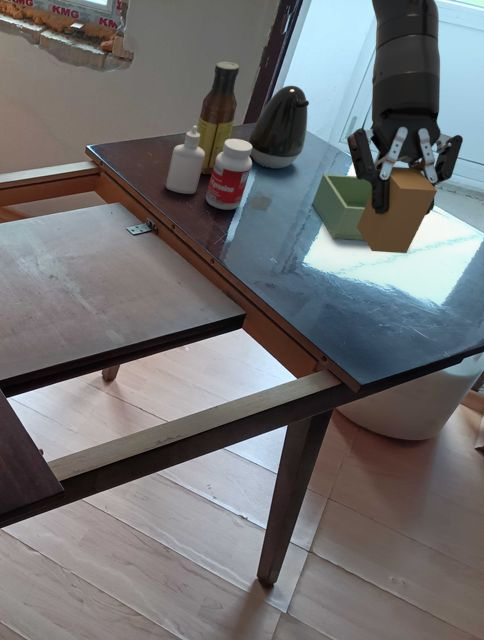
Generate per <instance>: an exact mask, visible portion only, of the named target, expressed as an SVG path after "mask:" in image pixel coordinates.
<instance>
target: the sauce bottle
mask: <svg viewBox="0 0 484 640" xmlns="http://www.w3.org/2000/svg"><path fill="white" fill-rule="evenodd" d="M239 72H240V65H239V64H238V63H235V62H232V61H219V62H217V63H216V64H215V68H214V78H213V83H212V86H211V89H210V91H209V92H208V93H207V94H206V96H205V97H204V98H203V100H202V106H201V111H200V114H199V119H198V124H197V133H199V134H200V139H199V143H198V147H200V148H201V149H203V150H204V152H205V157H204V161H203V165H202V170H201V173H205V174H212V172H213V168H214V164H215V160H216V157H217V156H218V154H219V153H221V152H223V146H224V143H225V141H226V140H228V139H231V135H232V131H233V125H234V122H235V114H236V110H237V106H238V102H237V99H236V95H235V92H234V90H235V83H236V80H237V76H238V75H239Z"/></svg>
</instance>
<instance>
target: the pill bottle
mask: <svg viewBox="0 0 484 640" xmlns="http://www.w3.org/2000/svg"><path fill="white" fill-rule="evenodd" d="M251 151H252V145H251V144H250V143H249V141H246V140H244V139H241V138H230V139H228V140H226V141H225V143H224V146H223V152H221V153H219V154H218V156H217V157H216V160H215V164H214V168H213V172H212V175H210V178H209V183H208V187H207V191H206V195H205V200H206V202H207V203H208V204H209V205H210V206H211V207H214V208H216V209H219V210H224V211H229V210H230V211H231V210H235V209H237V208H239V206H241V203H242V202H241V201H242V200H243V197H244V193H245V190H246V186H247V183H248V179H249V177H250V173H251V169H252V166H253V162H252V159H251V157H250V156H251Z"/></svg>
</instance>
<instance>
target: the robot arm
mask: <svg viewBox="0 0 484 640" xmlns="http://www.w3.org/2000/svg"><path fill="white" fill-rule="evenodd" d="M371 4H372V9H373V12H374V15H375V20H376V31H375V57H374V64H373V69H372V79H371V86H372V90H371V91H372V94H371V95H372V96H371V122H372V124H371V126H370V128H369V129H364V128H362V127H361V128H358V129H356V130H355V131H354V132H353V133H351V134H350V135H349V136H348V137H347V138H346V142H347V146H348V150H349V154H350V158H351V161H352V165H353V169H354V173H355V176H356V177H357V179H359V180H363V179H364V180H366V181H368V182H370V183H371V185H372V196H371V197H372V198H371V200H372V201H371V206H372V208H373V209H375V213H376V214H383V213H385V212H387V211H388V210H389V200H390V181H387V179H388V178H389V176H390V173H391V171H392V168H393V167H394V166H395V164H396V163H398V162H400V163H404V164H407V166H408V168H415V169H416V170H419V171H420V172H421V173H422V174H423V175H424V176H425V177H426V179H427V180H428V181H429V182H430V183H431V184H432V185H433V186H434V188H435V189H436V187H435V186H438V185H440V184H441V183H443V182H445V181H448V180H449V179H451V178H452V176H453V174H454V169H455V167H456V163H457V161H458V157H459V155H460V152H461V147H462V145H463V142H464V139H463V137H462V135H460V134H455V135H454V136H450V135H447V134H444V133H442V131H441V128H440V127H439V124H438V119H439V114H440V92H441V91H440V89H441V56H440V50H439V29H440V27H439V26H440V25H439V24H440V23H439V22H440V21H439V20H440V18H439V8H438V5H437V3H436V1H435V0H371ZM371 143H372V144H373V146H375V148H376V150H377V151H378V153H377V155H376V158H375V161H374V158H373V154H372V150H371V147H370V145H371ZM434 145H436V151H435V152H436V153H437V158H435V155H434V152H433V146H434ZM434 207H435V197H434V198H433V200H432V202H431V204H430V206H429V208H428V210H427V212H426V215H425V216H427V215H429V214H430V213H431V211H432V210H434Z"/></svg>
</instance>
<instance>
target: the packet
mask: <svg viewBox="0 0 484 640" xmlns="http://www.w3.org/2000/svg"><path fill="white" fill-rule="evenodd" d="M387 181H390V200H389V210H388V211H387V212H385V213H383V214H376V213H375V209H373V208H372V206H371V201H372V200H371V198H372V197H371V196H372V193H371V195H370V197H369V200H368V202H367V204H366V207H365V209H364V211H363V214H362V216H361V218H360V221H359V223H358V225H357V229H358V230H359V232H360V233H361V235H362V236H363V238H364V240H363V241H365V243H366V244H367V246H368V247H369V249H370V251H371V252H379V253H380V252H381V253H393V254H394V253H395V254H407V253H408V251H409V249H410V246H411V245H412V243H413V241H414V239H415V237H416V235H417V233H418V230H419V229H420V227H421V224H422V222H423V221H424V218H425V217H426V216H427V215H426V212H427V210H428V208H429V206H430V204H431V202H432V200H433V198H434V199H435V197H436V194H437V193H438V189H436V187H435V188H434V186H433V185H432V184H431V183H430V182H429V181H428V180H427V179H426V177H425V176H424V175H423V174H422V173H421V172H420V171H419V170H416V169H415V168H409V167H402V166H401V167H400V166H393V168H392V171H391V173H390V176H389V178H388V179H387Z"/></svg>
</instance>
